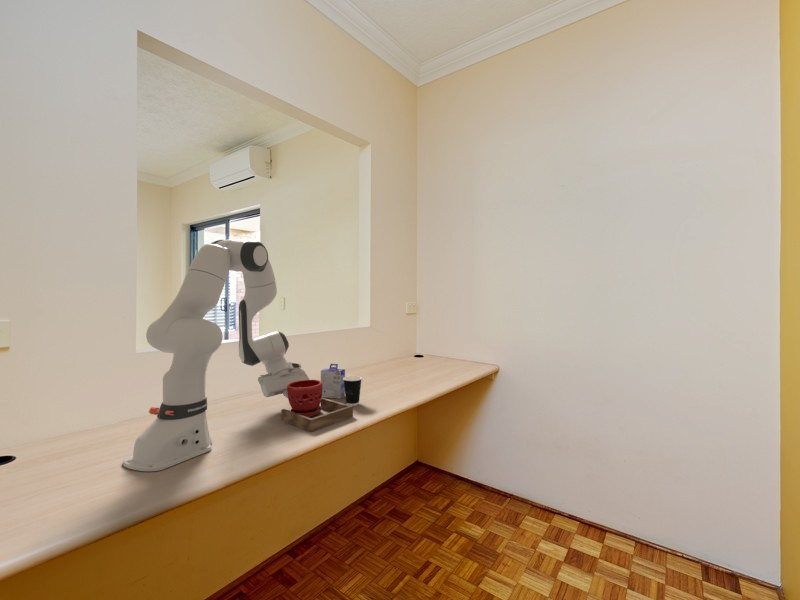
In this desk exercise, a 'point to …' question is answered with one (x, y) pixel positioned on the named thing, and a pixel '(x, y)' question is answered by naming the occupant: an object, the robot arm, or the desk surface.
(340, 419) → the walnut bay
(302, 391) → the plant pot
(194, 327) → the robot arm
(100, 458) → the desk surface
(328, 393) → the ink cartridge box
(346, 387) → the dixie cup
